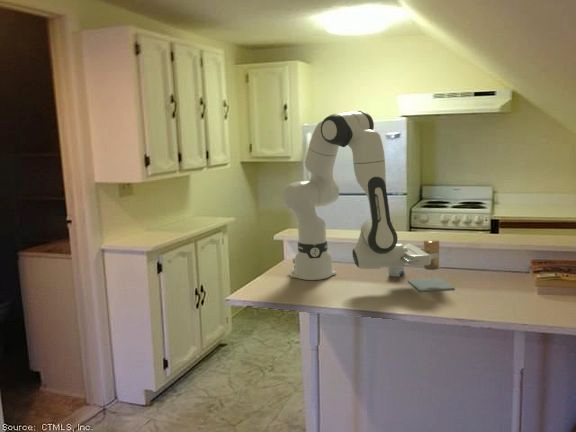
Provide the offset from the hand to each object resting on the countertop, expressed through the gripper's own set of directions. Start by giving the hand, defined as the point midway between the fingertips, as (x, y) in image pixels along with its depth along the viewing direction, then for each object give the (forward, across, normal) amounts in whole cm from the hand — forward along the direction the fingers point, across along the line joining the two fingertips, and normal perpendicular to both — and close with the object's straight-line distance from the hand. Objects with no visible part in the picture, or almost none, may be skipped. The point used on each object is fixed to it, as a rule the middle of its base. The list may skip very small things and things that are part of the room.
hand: (433, 253), depth 192 cm
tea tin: (-1, 0, +6) cm, 6 cm away
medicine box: (-9, +18, +12) cm, 24 cm away
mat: (-1, 0, +12) cm, 12 cm away
